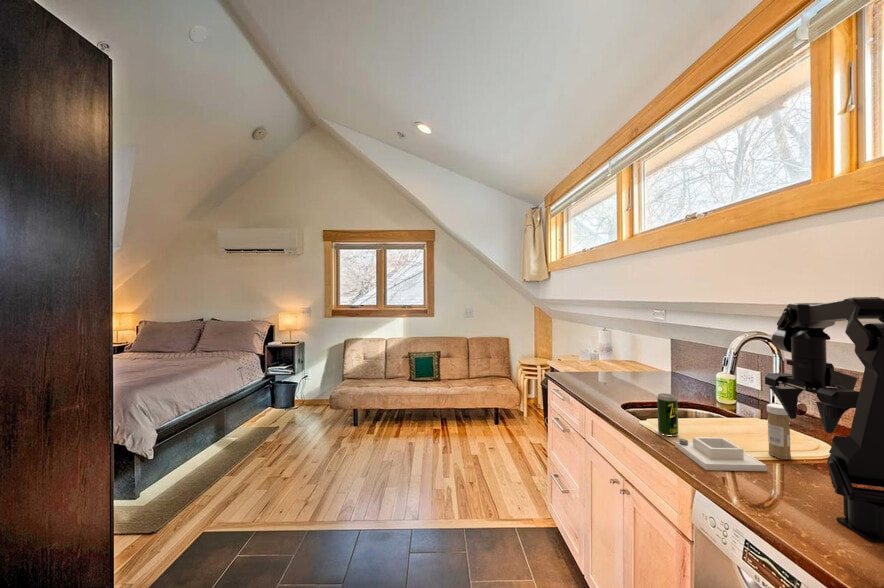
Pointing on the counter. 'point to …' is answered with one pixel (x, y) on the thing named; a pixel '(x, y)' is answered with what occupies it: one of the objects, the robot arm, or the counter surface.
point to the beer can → (667, 414)
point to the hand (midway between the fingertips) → (810, 425)
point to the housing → (719, 454)
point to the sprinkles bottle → (778, 431)
